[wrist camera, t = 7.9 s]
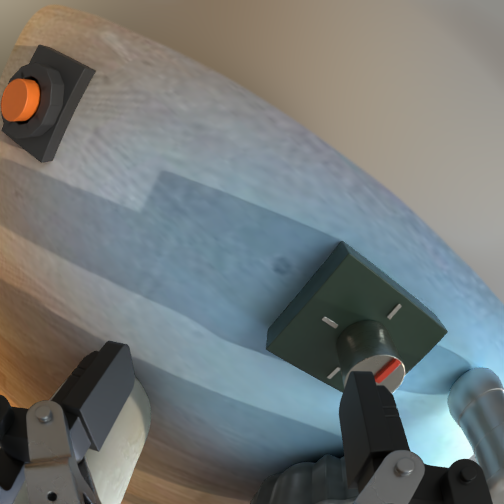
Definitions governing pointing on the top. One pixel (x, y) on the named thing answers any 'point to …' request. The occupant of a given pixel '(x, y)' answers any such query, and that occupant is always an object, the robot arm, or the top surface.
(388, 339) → the dial
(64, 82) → the button block
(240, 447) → the top surface
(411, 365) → the panel
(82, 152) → the top surface
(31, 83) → the button
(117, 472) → the off-white tall tapered cylinder
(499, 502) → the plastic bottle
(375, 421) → the robot arm
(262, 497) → the bundt pan
